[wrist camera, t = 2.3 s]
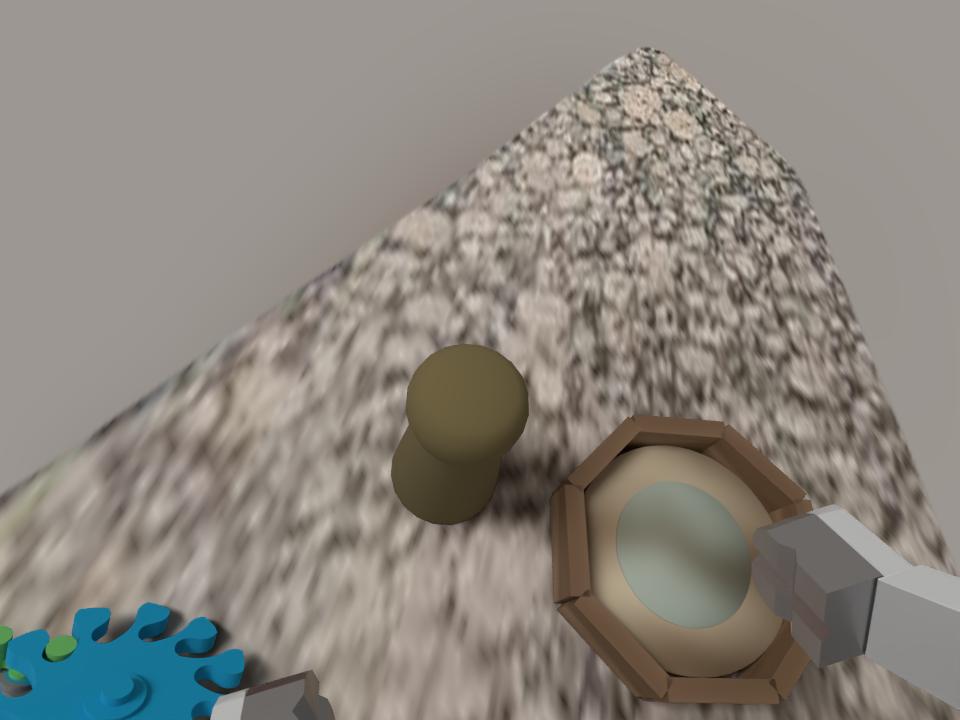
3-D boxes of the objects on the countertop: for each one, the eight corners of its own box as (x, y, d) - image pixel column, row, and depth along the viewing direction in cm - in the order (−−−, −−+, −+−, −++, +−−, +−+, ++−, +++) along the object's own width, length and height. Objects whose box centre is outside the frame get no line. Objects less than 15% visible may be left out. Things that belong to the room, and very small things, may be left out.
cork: (378, 511, 31) (378, 439, 21) (405, 410, 34) (416, 306, 24) (488, 535, 31) (537, 475, 21) (505, 433, 34) (555, 340, 24)
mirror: (821, 702, 30) (863, 705, 27) (558, 698, 28) (576, 701, 25) (761, 444, 36) (791, 427, 34) (546, 428, 34) (560, 408, 32)
